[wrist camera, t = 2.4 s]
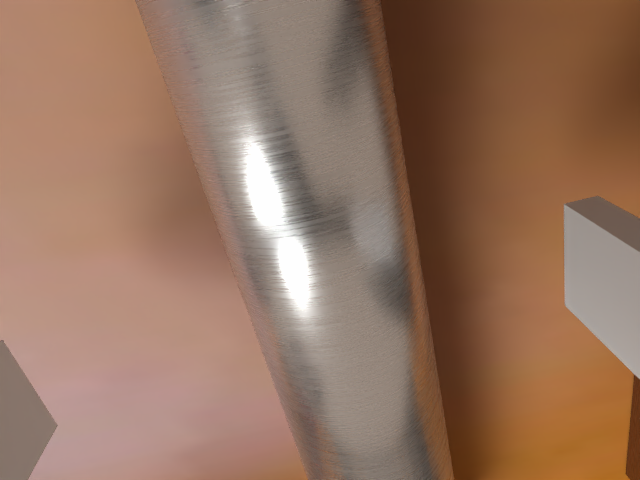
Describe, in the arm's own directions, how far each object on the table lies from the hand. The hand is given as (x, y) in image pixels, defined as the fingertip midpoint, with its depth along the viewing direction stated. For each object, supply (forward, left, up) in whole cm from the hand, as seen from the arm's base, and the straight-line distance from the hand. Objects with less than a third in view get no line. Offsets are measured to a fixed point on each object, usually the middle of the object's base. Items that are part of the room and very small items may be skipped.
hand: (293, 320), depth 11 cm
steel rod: (0, 0, -4) cm, 4 cm away
